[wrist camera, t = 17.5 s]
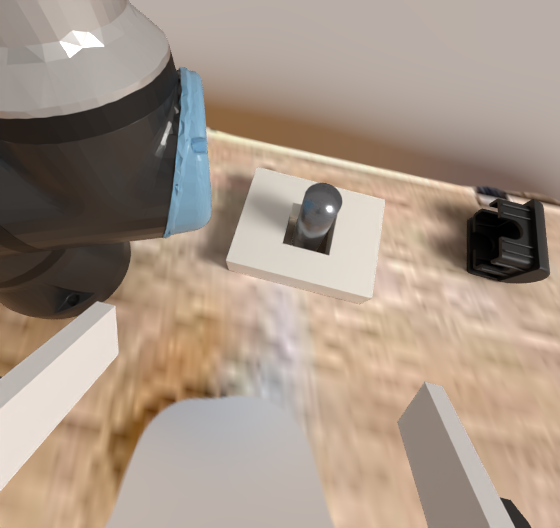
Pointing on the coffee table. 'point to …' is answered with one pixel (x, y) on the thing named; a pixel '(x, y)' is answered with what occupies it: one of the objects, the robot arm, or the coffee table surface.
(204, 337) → the coffee table surface
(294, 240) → the pin
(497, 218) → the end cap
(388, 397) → the coffee table surface
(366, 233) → the socket block
